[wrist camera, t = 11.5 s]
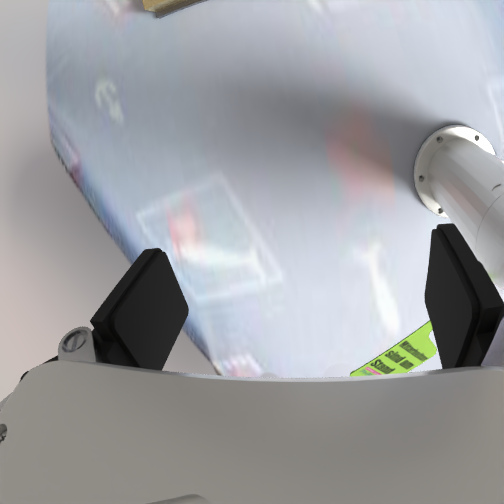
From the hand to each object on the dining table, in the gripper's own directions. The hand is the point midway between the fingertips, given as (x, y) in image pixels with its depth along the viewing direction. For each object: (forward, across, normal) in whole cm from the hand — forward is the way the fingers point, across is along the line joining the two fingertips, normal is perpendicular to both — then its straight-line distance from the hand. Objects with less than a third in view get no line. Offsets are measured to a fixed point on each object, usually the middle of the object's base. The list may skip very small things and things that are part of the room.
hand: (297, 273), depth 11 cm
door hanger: (+31, -14, +43) cm, 55 cm away
